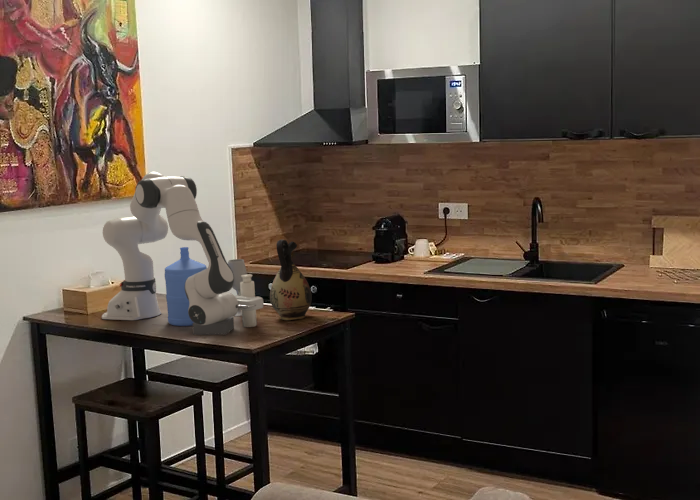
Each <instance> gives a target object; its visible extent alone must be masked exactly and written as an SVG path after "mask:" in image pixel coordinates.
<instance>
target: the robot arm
mask: <svg viewBox="0 0 700 500" xmlns="http://www.w3.org/2000/svg"><path fill="white" fill-rule="evenodd" d="M134 191H135V192H134V193H133V194H134V195H133V197H132V198H131V200H130V204H129V209H130V213H131V215H132V216H124V217H115V218H113V219H110V220H107V221H106V222H105V223H104V225H103V227H102V237H103V240H104V241H105V242H106V244H107V245H109V246H110V247H112V248H113V249H115V251H116V252H117V253H118V255H119V256H120V258H121V260H122V267H123V273H124V279H123V281H122V282H120V283H119V288H120V291H119V292H118V293H116V294H115V295H114V296H113V297H112V298H111V299H110V300H109V301H108V304H107V309H106V310H107V311H106V312H104V313H102V315H101V319H102V320H115V321H116V320H118V321H119V320H121V321H138V320H142V319H149V318H153V317H157V316H159V315H161V314H162V311H161V309H160V305H159V302H158V298H157V283H156V278H155V273H154V272H155V271H154V262H153V261H154V260H153V259H152V257H151V256H150V255H148V254H146V253H144V252H141V251H140V248H139V245H141V244H151V243H155V242H158V241H162V240H164V239H165V238H166V237H167V235H168V233H169V229H170V232H171V233H172V235H174V236H175V237H176V238H177V239H179V240H183V241H197V242H198V243H199V244H200V245H201V247H202V249H203V252H204V254H205V257H206V259H207V261H208V266H207V269H205V270H203V271H201V272H198V273H196V274H194V275H192V276H190V277H188V278H187V280H186V282H185V293H186V296H187V299H188V300H189V309H188V315H189V317H190V319H191V320H192V321H193V322H194V323H195V324H198V325H209V324H212V323H216V322H218V321H219V320H224V319H227V318H230V317H233V318H234V317H236V316H235V315H236V314H237V312H238V310H241V311H242V310H243V311H252V310H256V311H257V310H259V309H263V308H264V298H263V297H261V296H256V295H255V297H248V296H241V294H239V295H237V294H236V295H235V294H232V292H229V291H231V290H232V289H233V288H232V286H233V283H234V274H233V272H232V270H231V268H230V267H229V265H228V261H227V259H226V258H225V256H224V253H223V251H222V248H221V245H220V242H218V239H217V237H216V234H215V232H214V230H213V228H212V227H211V225H210V224H209V223H208V222H207V221H204V220H203V219H202V216H201V214H200V211H199V207H198V205H197V201H196V198H197V193H198V192H197V191H198V189H197V185H196V182H195V181H194V179H193V178H191V177H189V176H184V175H183V176H182V175H181V176H171V175H170V176H169V175H168V176H164V174H162V173H159V172H157V171H151V172H148V173H146V174H145V175H144V176H143V177H142V179H141V180H139V181H138V182H137V184H136V186H135V189H134ZM162 209H165V213H166V217H167V220H166V218H165V217H164V216H162V215H161V214H160V213H161V210H162Z"/></svg>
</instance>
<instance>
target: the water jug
mask: <svg viewBox="0 0 700 500" xmlns="http://www.w3.org/2000/svg"><path fill="white" fill-rule="evenodd" d="M189 248H190V247H187V246H184V247H183V246H182V247H180V248H179V249H180V254H179V255H180V258H179V259H178V260H176V261H174V262H173V263H171V264H169V265H167V266H166V267H165V268H164V280H165V292H166V293H165V299H166V305H167V306H166V307H167V323H168V324H170V325H171V326H175V327H191V326H192V327H193V324H192V323H194V322H193V321H192V320H191V319H190V317H189V315H188V309H189V300H188V299H187V296H186V293H185V282H186V280H187V278H188V277H190V276H192V275H194V274H196V273H198V272H201V271H203V270H205V269H207V268H208V266H207V265H206V264H204V263H201V262H199V261H197V260H195V259H192V258H190V251H189Z"/></svg>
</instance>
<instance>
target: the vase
mask: <svg viewBox="0 0 700 500" xmlns="http://www.w3.org/2000/svg"><path fill="white" fill-rule="evenodd" d="M241 277H242V278H243V282H240V295H241V296H248V297H256V294H255V293H256V291H255V281H254V280H252V277H253V274H251V273H249V274H248V273H247V274H245V275H241ZM241 311H242V316H241V319H242V320H241V321H242V327H244V328H253V327H256V326H257V310H252V311H243V310H241Z"/></svg>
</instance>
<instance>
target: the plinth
mask: <svg viewBox="0 0 700 500" xmlns="http://www.w3.org/2000/svg"><path fill="white" fill-rule="evenodd" d="M234 321H235V320H234V316H233V317H230V318H227V319H224V320H219V321H218V322H216V323H212V324H209V325H198V324H195V323H192V324H193V325H192V334H193V335H228V333H230V332H231V331H232V330H233V329H234V328H235V323H234Z"/></svg>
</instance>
